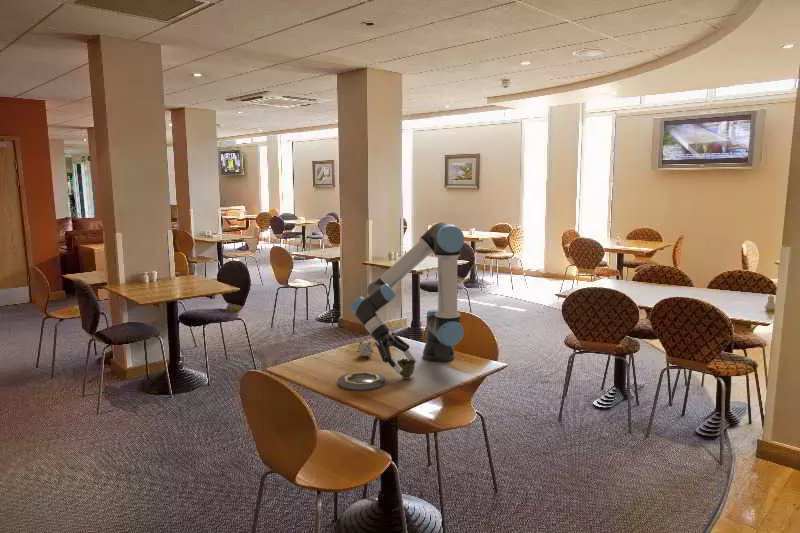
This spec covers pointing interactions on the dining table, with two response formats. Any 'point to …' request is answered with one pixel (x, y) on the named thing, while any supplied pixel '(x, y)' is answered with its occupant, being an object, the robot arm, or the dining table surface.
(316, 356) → the dining table surface
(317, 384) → the dining table surface
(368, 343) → the game die
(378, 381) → the carrier plate
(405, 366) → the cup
